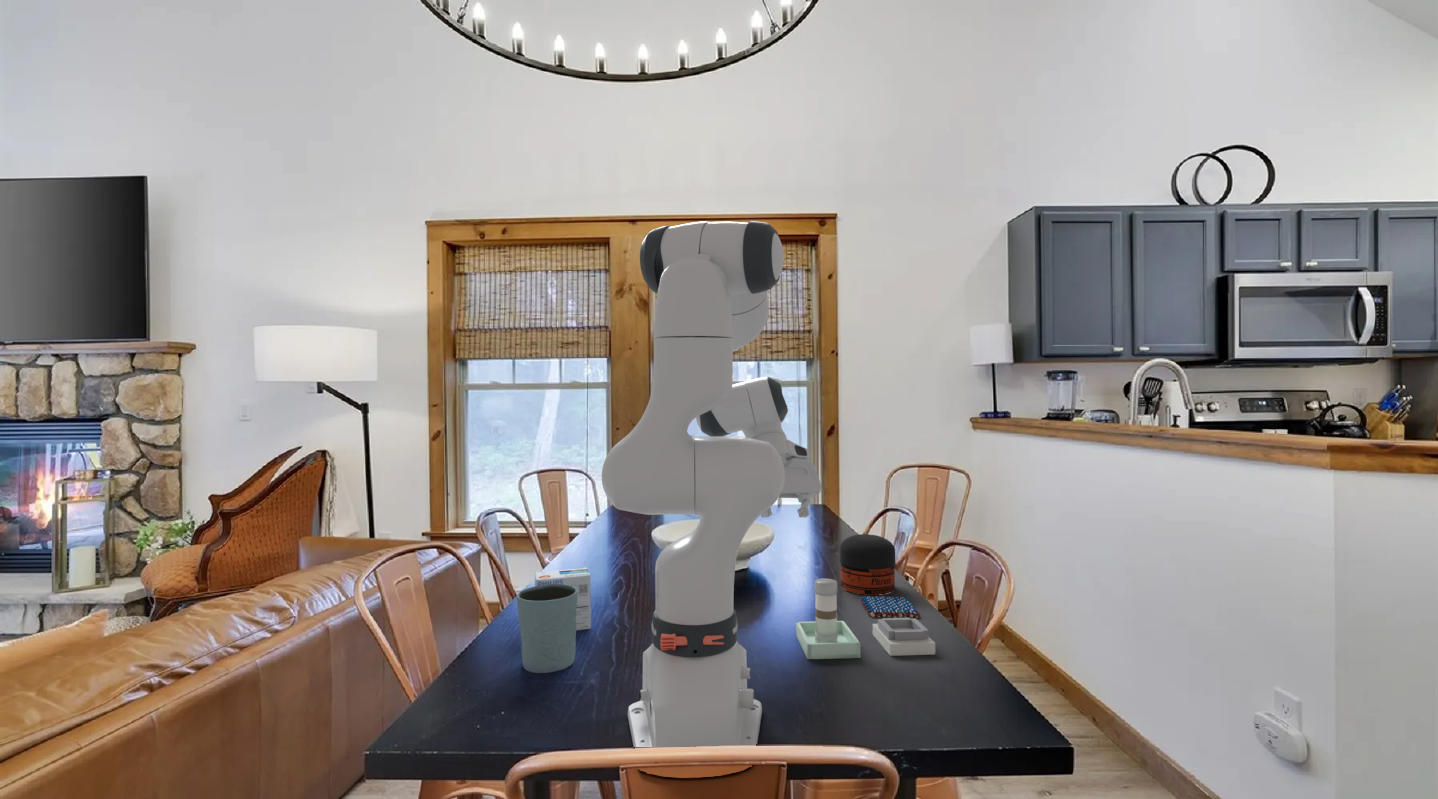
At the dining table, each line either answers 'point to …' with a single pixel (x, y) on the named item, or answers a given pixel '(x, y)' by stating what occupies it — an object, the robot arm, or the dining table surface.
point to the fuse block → (903, 637)
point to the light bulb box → (578, 580)
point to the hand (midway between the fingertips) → (786, 516)
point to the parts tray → (842, 649)
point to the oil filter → (867, 564)
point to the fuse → (826, 611)
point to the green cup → (547, 627)
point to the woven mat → (889, 606)
